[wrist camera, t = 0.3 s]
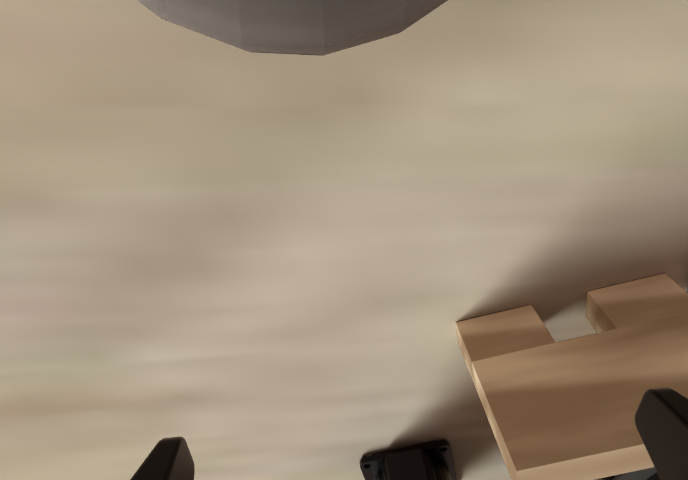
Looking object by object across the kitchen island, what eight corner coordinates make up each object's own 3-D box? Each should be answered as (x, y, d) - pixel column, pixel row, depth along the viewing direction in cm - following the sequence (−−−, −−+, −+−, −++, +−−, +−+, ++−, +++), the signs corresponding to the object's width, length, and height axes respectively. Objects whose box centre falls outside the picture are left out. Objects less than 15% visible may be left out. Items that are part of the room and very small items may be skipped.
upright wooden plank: (660, 299, 27) (798, 436, 20) (459, 345, 28) (518, 495, 21) (665, 273, 26) (813, 407, 19) (455, 322, 27) (516, 471, 19)
